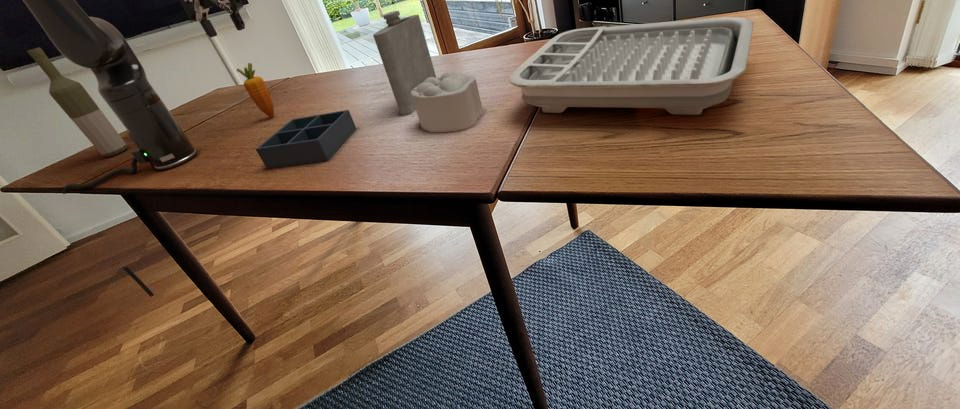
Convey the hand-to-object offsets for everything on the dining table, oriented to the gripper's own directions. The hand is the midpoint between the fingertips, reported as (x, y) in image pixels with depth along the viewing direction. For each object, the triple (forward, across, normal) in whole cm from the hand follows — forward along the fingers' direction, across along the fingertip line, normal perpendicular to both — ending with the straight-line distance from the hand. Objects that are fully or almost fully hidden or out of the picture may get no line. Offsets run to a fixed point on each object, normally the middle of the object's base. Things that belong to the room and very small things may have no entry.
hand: (227, 33), depth 101 cm
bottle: (+23, +49, +8) cm, 55 cm away
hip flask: (+23, -46, +5) cm, 51 cm away
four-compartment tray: (+23, -27, +24) cm, 43 cm away
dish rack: (+23, -92, +18) cm, 96 cm away
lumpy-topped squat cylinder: (+23, -57, +20) cm, 64 cm away
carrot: (+23, 0, 0) cm, 23 cm away
